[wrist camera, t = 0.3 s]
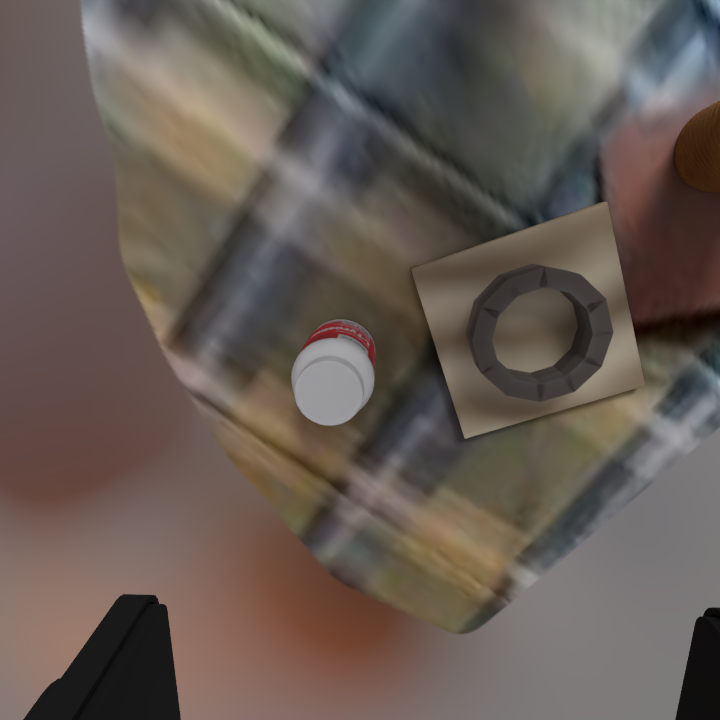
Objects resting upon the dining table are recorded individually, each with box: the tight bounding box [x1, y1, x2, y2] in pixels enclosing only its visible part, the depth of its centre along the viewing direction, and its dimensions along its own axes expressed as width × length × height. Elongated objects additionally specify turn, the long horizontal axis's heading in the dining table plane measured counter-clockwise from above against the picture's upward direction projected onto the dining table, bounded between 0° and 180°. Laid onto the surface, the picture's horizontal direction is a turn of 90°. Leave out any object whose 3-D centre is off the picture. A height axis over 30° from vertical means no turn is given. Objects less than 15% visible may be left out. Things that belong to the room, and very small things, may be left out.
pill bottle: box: [291, 319, 376, 426], centre depth 38 cm, size 6×6×11 cm
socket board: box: [410, 202, 645, 439], centre depth 40 cm, size 16×16×4 cm
